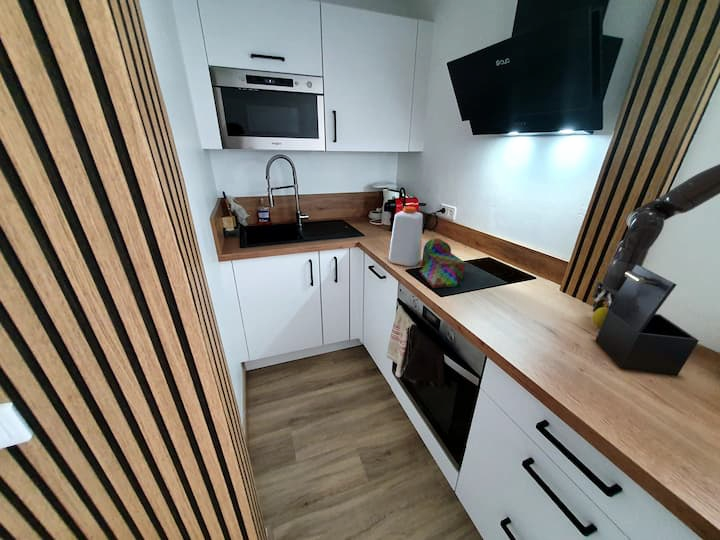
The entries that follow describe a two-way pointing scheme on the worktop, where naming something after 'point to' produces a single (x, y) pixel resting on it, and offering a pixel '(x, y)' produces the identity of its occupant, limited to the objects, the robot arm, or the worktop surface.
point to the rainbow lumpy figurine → (441, 264)
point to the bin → (646, 345)
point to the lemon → (599, 316)
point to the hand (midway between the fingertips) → (602, 318)
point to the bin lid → (641, 297)
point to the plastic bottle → (406, 237)
